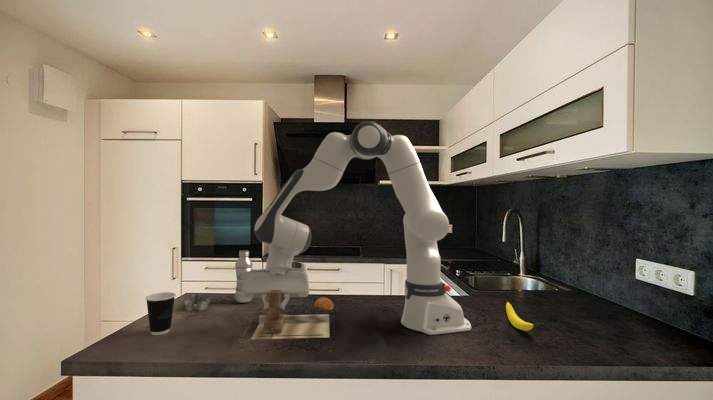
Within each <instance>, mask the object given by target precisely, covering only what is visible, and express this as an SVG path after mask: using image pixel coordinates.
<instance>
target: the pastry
mask: <svg viewBox="0 0 713 400" xmlns="http://www.w3.org/2000/svg"><path fill="white" fill-rule="evenodd" d="M313 305H314V306H313V307H314V308H319V309H320V310H323V311H324V310H325V311H328V310H329V311H331V310H333V309H334V308H335V307H334V306H335V305H334V303H333V301H332V300H331V299H329V298H327V297H325V296H322V297H321V296H320V297H319V298H317V299H316V300H315V302H314V303H313Z"/></svg>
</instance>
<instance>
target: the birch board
mask: <svg viewBox="0 0 713 400" xmlns="http://www.w3.org/2000/svg"><path fill="white" fill-rule="evenodd" d="M266 317H267V315H259V317H258V318H259V319H258V321H259V322H258V325H257V327H256V329H255V331H254V333H253V334H252V337H251V338H250V340H276V339H277V340H280V339H282V340H283V339H285V340H286V339H287V340H288V339H313V338H314V339H320V338H324V339H325V338H328V339H329V338H330V314H325V313H324V314H284V326H283V329H282V332H281V333H264V322H265V319H266Z"/></svg>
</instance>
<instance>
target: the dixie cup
mask: <svg viewBox="0 0 713 400" xmlns="http://www.w3.org/2000/svg"><path fill="white" fill-rule="evenodd" d="M175 297H176V293H174V292H169V291H165V292H157V293H151V294H149V295H147V296H146V297H145V300H146V306H147V307H146V308H147V315H148V317H147V318H148V322H149V323H148V324H149V331H150V334H151V335H152V336H160V335H166V334H167V333H169V332H170V329H171V327H172V322H173V321H172V320H173V313H174V306H175V305H174V303H175Z"/></svg>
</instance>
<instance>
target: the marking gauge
mask: <svg viewBox="0 0 713 400" xmlns="http://www.w3.org/2000/svg"><path fill="white" fill-rule="evenodd" d="M281 298H282V297H281V290H270V292H269V297H268V302H269V310H268V314H267V315H266V316H267V317H266V319H265V322H264V333H281V332H282V329H283V326H284V315H285V313H281V310H280V309H279V306H280V302H281Z"/></svg>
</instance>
